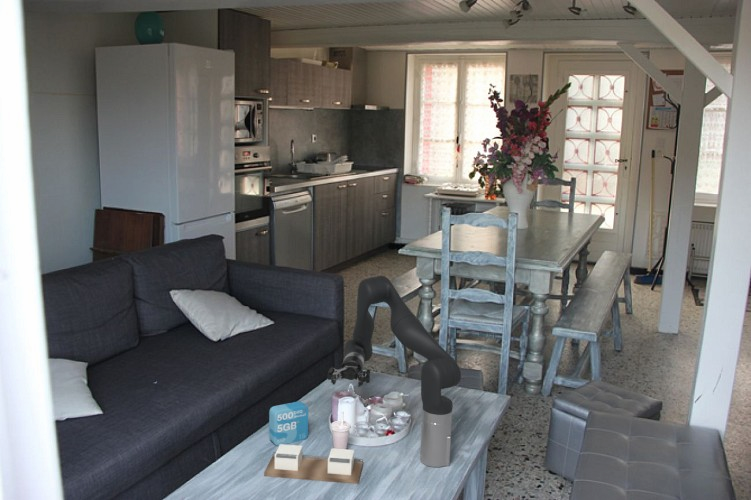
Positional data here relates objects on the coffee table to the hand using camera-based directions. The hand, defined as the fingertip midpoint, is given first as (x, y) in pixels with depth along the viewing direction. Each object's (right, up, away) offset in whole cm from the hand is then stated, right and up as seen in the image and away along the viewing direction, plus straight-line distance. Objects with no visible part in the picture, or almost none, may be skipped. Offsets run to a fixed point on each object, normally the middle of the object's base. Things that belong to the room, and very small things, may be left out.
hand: (346, 382), depth 229 cm
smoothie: (-2, -21, -8) cm, 23 cm away
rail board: (-9, -23, -19) cm, 31 cm away
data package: (-19, -19, -1) cm, 27 cm away
